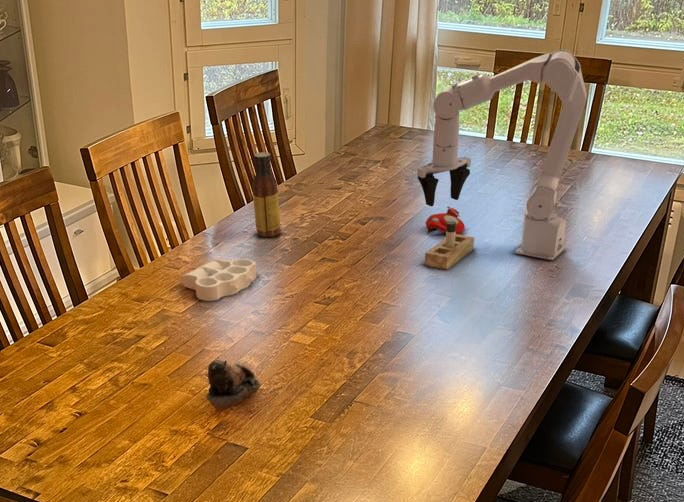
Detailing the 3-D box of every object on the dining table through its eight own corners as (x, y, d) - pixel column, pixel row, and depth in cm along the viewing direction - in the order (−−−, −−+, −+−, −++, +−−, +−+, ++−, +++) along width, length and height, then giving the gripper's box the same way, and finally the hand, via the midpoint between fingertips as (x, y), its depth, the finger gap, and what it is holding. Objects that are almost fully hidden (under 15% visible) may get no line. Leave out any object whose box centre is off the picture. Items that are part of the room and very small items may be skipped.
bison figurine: (236, 383, 188) (233, 334, 183) (268, 391, 186) (265, 342, 180) (200, 411, 180) (195, 361, 174) (233, 420, 177) (229, 370, 171)
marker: (455, 256, 238) (457, 222, 233) (451, 259, 236) (453, 224, 231) (447, 254, 239) (449, 220, 234) (442, 257, 237) (445, 223, 232)
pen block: (473, 249, 241) (474, 237, 239) (446, 269, 231) (447, 257, 229) (451, 245, 244) (452, 233, 242) (424, 265, 234) (425, 252, 232)
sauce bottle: (282, 229, 255) (279, 150, 243) (279, 238, 250) (276, 158, 238) (256, 229, 255) (252, 150, 244) (253, 238, 250) (249, 157, 239)
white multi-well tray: (221, 265, 236) (270, 278, 229) (171, 291, 224) (222, 306, 217) (220, 251, 234) (270, 264, 227) (169, 277, 222) (221, 291, 215)
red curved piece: (470, 230, 248) (433, 224, 246) (464, 245, 251) (427, 239, 249) (461, 204, 256) (425, 197, 254) (455, 218, 259) (419, 212, 257)
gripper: (458, 134, 237) (455, 191, 245) (410, 145, 231) (407, 203, 239) (478, 141, 232) (473, 199, 240) (429, 152, 226) (426, 211, 234)
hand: (442, 201), depth 239 cm, fingers open, 7 cm apart
